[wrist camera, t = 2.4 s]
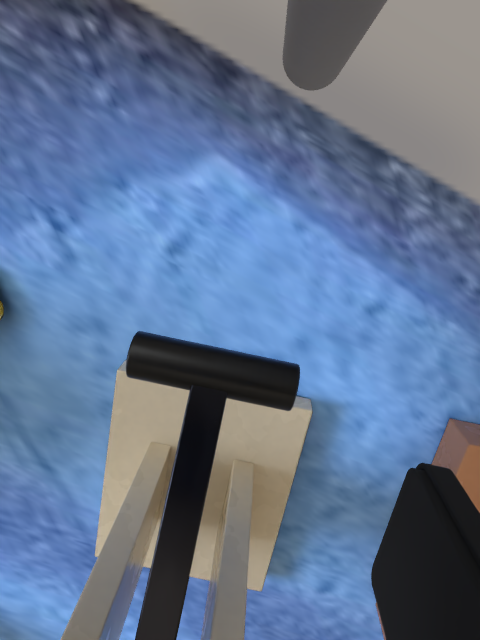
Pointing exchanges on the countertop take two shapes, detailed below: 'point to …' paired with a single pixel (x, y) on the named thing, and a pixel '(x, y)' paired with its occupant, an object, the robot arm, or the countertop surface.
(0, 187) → the countertop surface
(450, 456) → the control block
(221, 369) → the black t-handle lever
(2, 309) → the fruit
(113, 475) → the lever bracket
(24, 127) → the countertop surface
